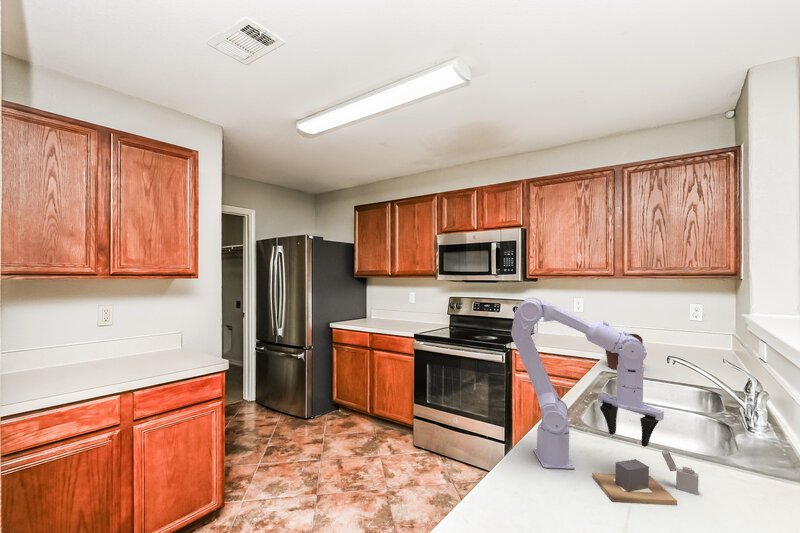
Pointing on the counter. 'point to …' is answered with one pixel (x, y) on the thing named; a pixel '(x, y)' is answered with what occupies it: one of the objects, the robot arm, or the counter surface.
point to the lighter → (683, 475)
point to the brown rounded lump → (613, 357)
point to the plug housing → (632, 475)
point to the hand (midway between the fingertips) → (628, 439)
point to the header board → (648, 495)
